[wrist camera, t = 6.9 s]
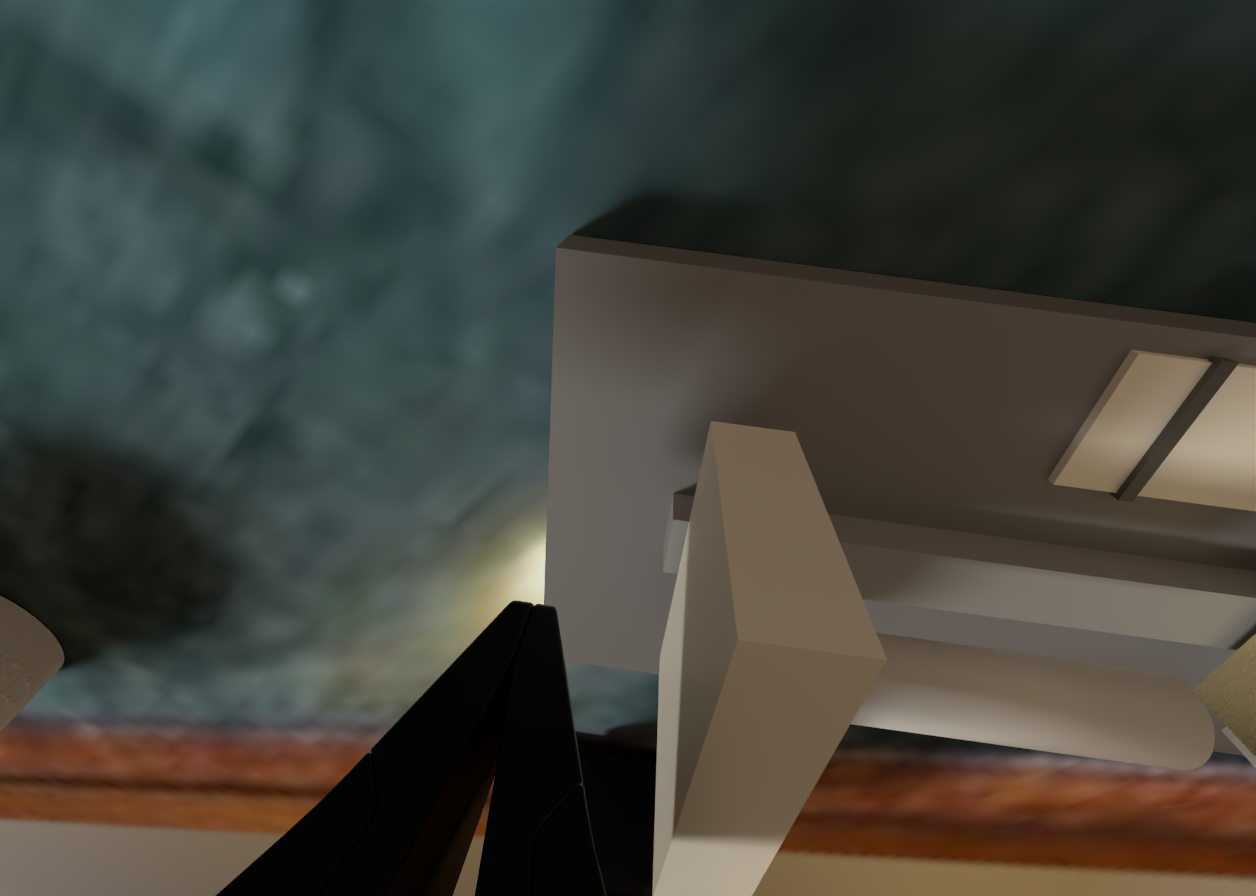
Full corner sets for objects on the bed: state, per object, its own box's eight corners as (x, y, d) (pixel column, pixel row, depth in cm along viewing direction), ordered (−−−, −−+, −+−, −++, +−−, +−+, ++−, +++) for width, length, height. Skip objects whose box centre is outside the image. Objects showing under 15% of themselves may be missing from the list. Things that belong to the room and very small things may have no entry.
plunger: (998, 704, 13) (1151, 971, 9) (659, 657, 13) (651, 899, 9) (1177, 482, 10) (1571, 754, 5) (710, 420, 10) (738, 639, 6)
